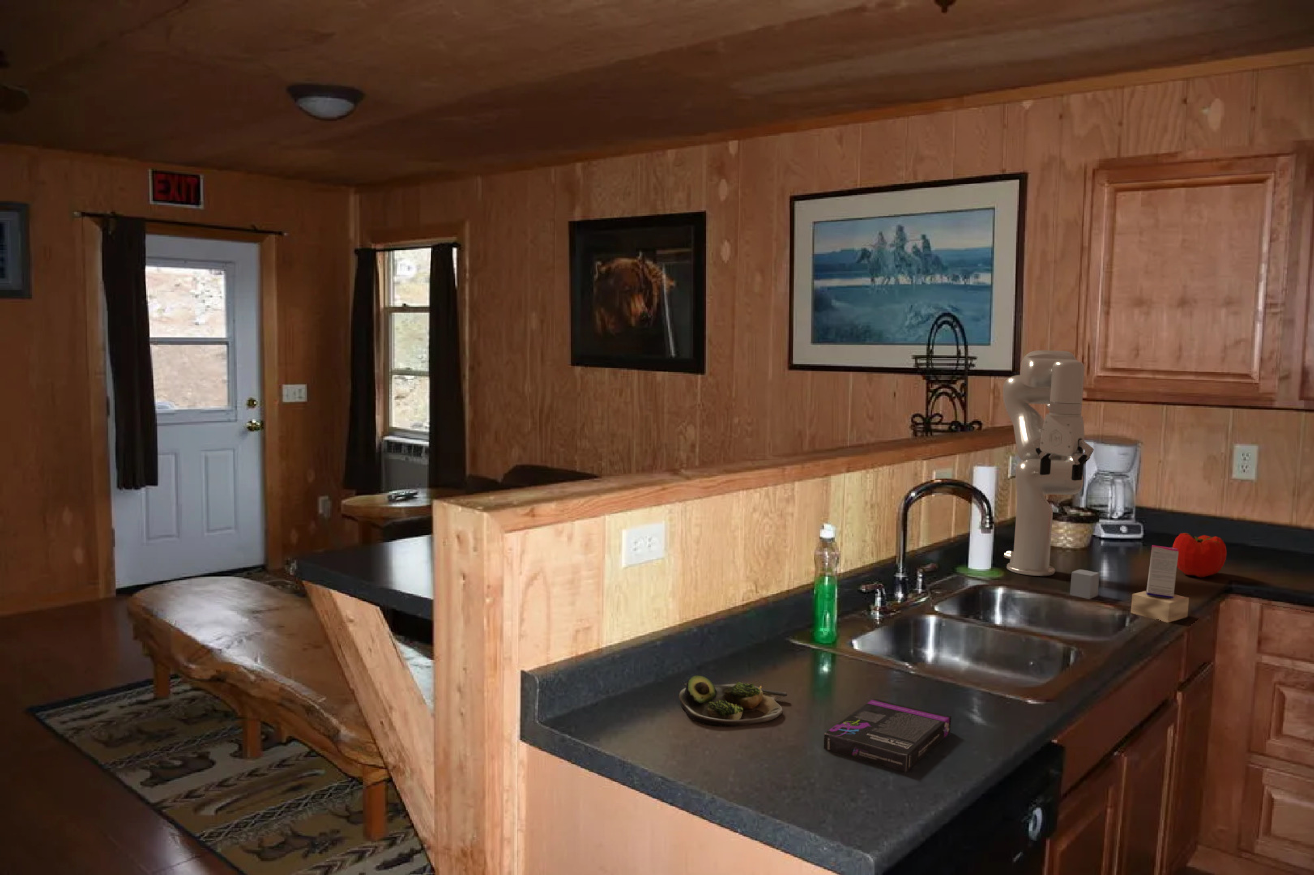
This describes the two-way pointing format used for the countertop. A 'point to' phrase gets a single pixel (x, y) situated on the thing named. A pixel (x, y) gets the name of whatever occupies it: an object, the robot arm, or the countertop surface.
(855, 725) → the box
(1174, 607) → the maple block
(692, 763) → the countertop surface
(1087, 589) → the slate block
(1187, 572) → the tomato
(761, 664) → the countertop surface
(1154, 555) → the supplement box
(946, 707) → the countertop surface
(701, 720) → the avocado toast plate
